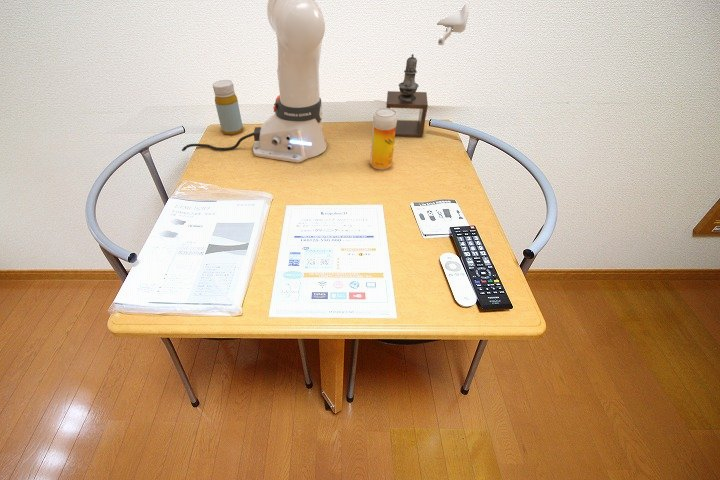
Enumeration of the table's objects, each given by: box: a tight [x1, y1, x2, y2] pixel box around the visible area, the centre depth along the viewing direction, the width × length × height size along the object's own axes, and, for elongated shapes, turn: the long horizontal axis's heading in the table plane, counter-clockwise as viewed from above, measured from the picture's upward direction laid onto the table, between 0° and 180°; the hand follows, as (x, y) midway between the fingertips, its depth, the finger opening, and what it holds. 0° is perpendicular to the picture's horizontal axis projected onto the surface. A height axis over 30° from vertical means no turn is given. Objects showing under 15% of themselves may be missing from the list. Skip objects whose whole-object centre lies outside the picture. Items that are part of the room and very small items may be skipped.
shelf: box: [385, 90, 429, 138], centre depth 114 cm, size 12×10×10 cm
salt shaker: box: [398, 53, 420, 101], centre depth 106 cm, size 6×6×12 cm
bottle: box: [212, 79, 244, 136], centre depth 116 cm, size 7×7×15 cm
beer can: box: [369, 107, 398, 171], centre depth 98 cm, size 6×6×15 cm
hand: (425, 42), depth 110 cm, fingers open, 8 cm apart
